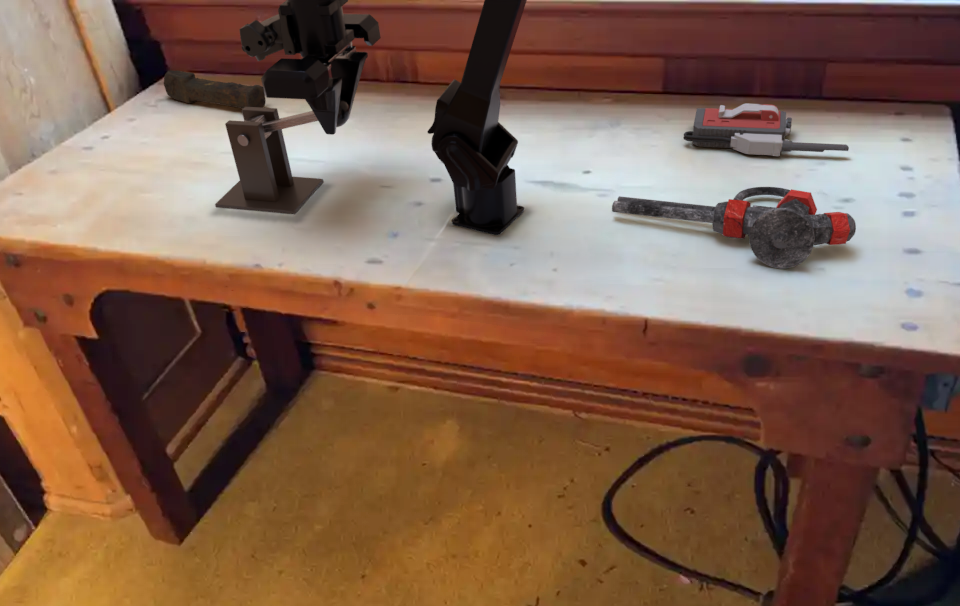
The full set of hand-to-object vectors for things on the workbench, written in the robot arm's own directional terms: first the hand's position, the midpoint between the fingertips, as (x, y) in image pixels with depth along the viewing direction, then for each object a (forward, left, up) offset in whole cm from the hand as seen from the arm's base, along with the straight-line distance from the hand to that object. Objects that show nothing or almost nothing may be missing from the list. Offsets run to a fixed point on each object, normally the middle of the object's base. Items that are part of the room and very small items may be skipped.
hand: (337, 126), depth 105 cm
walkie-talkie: (-40, -35, -11) cm, 54 cm away
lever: (+5, +1, -1) cm, 5 cm away
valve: (-43, -14, -11) cm, 47 cm away
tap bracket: (+11, +3, -11) cm, 15 cm away
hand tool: (+41, -17, -11) cm, 46 cm away
